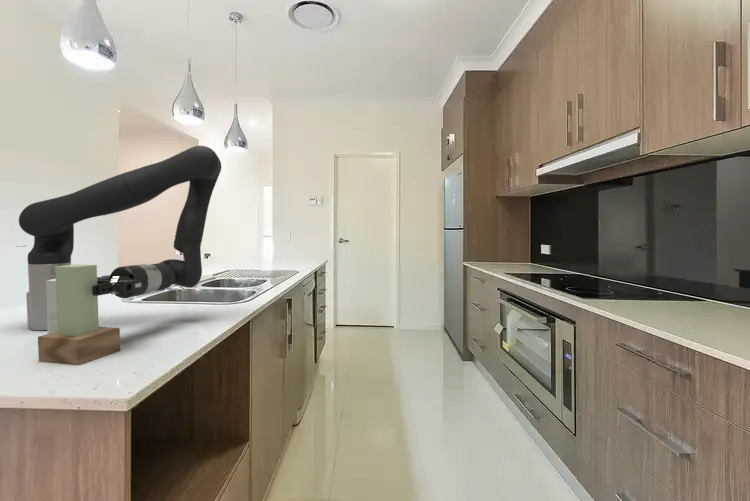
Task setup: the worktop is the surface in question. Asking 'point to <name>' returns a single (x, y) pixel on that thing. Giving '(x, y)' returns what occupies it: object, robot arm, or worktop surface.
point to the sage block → (76, 300)
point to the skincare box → (51, 306)
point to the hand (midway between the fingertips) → (76, 289)
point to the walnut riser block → (78, 346)
